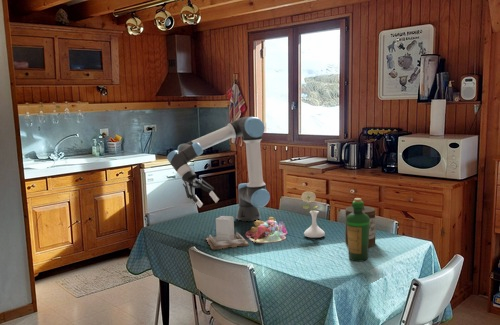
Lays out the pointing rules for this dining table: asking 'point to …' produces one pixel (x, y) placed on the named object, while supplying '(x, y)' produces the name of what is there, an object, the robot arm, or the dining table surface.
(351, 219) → the bottle
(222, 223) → the supplement box
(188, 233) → the dining table surface
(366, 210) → the wooden container
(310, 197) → the flower in vase
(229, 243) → the board
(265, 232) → the candy landscape model
